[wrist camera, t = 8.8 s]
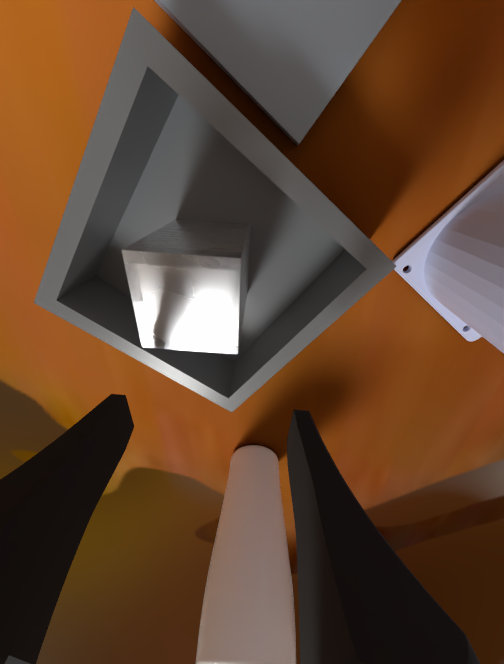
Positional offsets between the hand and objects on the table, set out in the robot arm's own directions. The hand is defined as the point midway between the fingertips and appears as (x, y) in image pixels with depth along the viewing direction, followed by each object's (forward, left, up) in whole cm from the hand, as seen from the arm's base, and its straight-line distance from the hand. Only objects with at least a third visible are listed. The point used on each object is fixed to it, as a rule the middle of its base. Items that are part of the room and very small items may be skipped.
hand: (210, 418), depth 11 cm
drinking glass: (-13, +14, -10) cm, 21 cm away
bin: (+3, -2, -10) cm, 11 cm away
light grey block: (+3, -3, -9) cm, 10 cm away
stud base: (+9, -16, -10) cm, 21 cm away
